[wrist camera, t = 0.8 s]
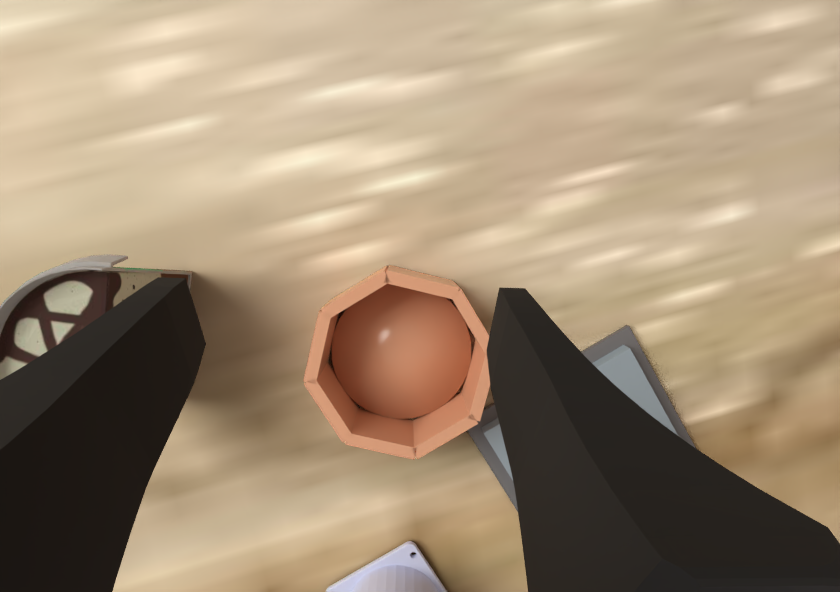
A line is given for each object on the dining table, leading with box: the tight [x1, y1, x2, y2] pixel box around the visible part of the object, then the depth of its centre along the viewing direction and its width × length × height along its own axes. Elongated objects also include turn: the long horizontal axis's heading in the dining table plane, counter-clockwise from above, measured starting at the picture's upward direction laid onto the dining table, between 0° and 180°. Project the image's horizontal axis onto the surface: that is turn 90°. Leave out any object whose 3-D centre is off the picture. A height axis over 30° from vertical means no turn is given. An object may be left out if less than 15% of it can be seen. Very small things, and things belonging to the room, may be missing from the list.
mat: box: [467, 325, 696, 511], centre depth 35 cm, size 14×14×1 cm
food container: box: [0, 255, 192, 380], centre depth 28 cm, size 12×6×10 cm, turn 170°
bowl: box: [303, 265, 490, 460], centre depth 32 cm, size 12×12×4 cm
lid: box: [481, 345, 677, 480], centre depth 33 cm, size 12×12×5 cm
